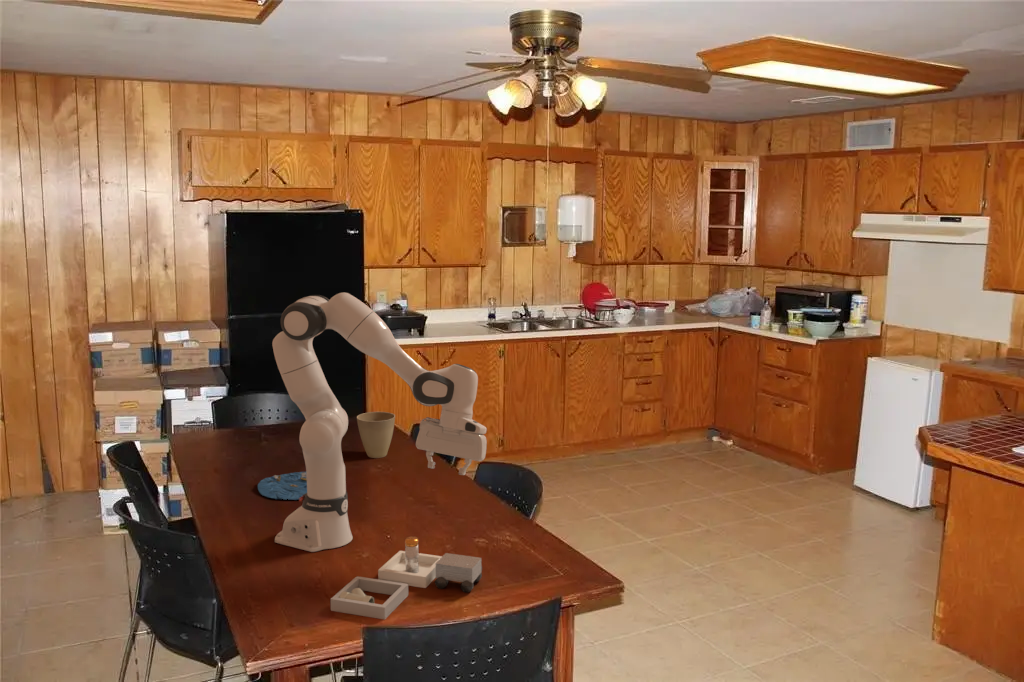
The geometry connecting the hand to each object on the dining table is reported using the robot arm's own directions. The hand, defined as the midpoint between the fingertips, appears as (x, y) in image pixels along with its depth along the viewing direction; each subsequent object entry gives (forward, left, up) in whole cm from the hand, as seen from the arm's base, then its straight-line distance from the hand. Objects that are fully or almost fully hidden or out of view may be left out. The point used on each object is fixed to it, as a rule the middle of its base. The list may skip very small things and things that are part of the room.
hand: (446, 471), depth 235 cm
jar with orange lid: (-3, -16, -23) cm, 28 cm away
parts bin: (-6, -35, -24) cm, 43 cm away
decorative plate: (-69, +37, -25) cm, 82 cm away
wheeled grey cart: (+11, -15, -24) cm, 30 cm away
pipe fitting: (-8, -37, -24) cm, 45 cm away
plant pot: (-61, +79, -24) cm, 103 cm away
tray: (-3, -16, -24) cm, 29 cm away
